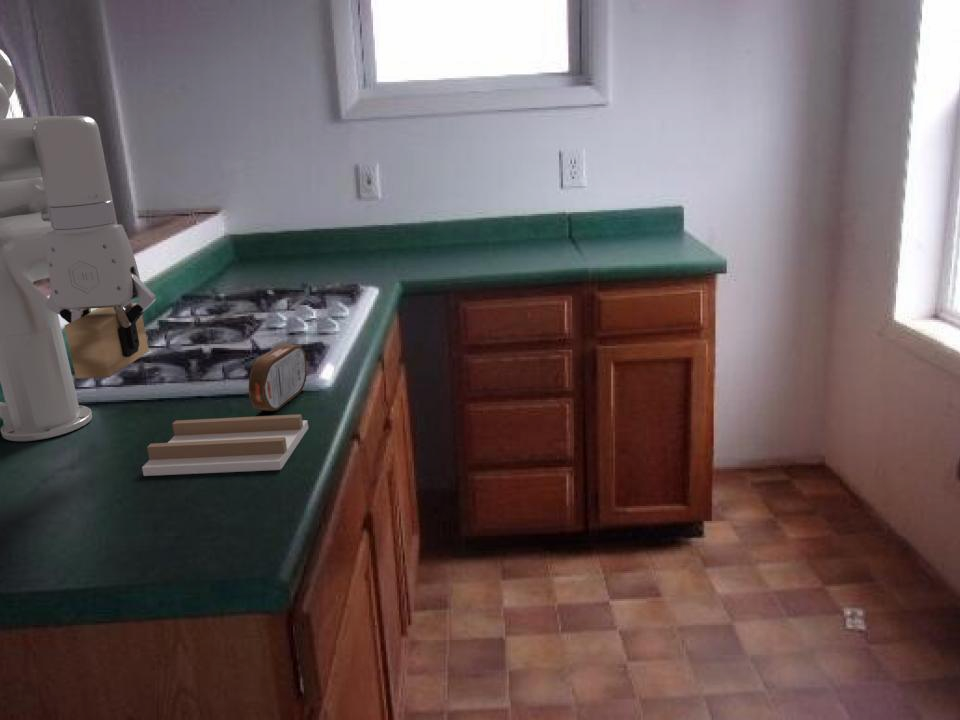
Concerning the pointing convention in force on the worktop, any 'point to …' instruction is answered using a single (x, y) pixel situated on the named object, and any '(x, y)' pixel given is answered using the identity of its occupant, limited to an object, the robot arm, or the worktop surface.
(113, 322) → the oak block
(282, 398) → the tin
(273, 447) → the cradle
